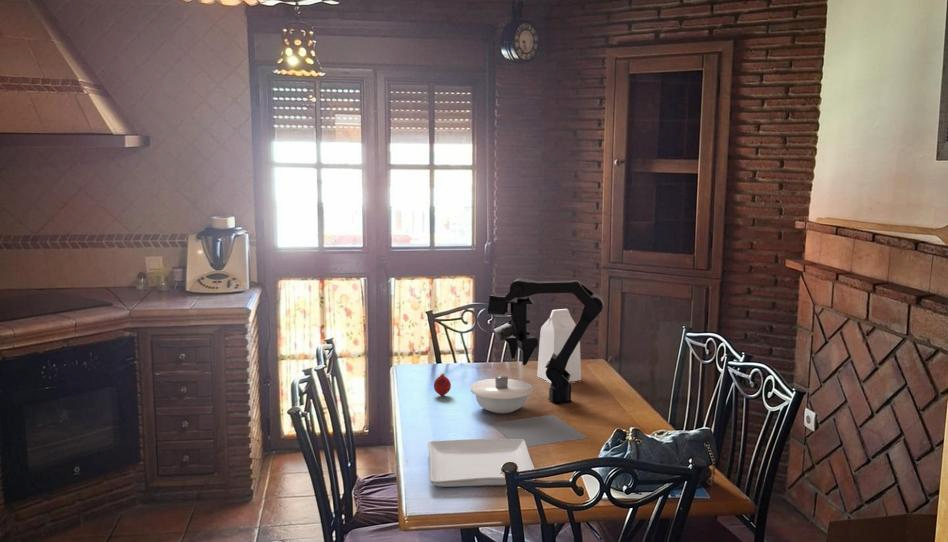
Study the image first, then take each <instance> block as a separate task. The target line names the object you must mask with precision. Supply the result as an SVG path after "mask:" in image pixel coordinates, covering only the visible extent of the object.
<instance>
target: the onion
mask: <svg viewBox="0 0 948 542" xmlns="http://www.w3.org/2000/svg"><path fill="white" fill-rule="evenodd" d="M451 387H452V384H451V381H450V379H449V378H448V377H447V376H445V374H444V372H442V373H440V375H439V376H438V377H437V378H436V379H435V380H434V383H433V389H434V391H435V392H436V393H437V395H439V396H440V397H444V396H445V395H447V394H448V393H449V391H450V390H451Z"/></svg>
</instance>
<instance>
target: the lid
mask: <svg viewBox="0 0 948 542" xmlns="http://www.w3.org/2000/svg"><path fill="white" fill-rule="evenodd" d="M470 392H471V394H474V395H475V396H476V395H477V396H480V397H484V398H490V399H516V398H521V397H525V396H527V397H528V396H529V395H530V394H532V393H533V386H532V384H530V383H528V382H526V381H523V380H520V379H513V378H508V376H507V375H503V374H498V375H495V378H487V379H481V380H478V381H476V382H473V383H472V384H471V385H470Z"/></svg>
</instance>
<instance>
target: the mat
mask: <svg viewBox="0 0 948 542" xmlns="http://www.w3.org/2000/svg"><path fill="white" fill-rule="evenodd" d="M489 424H490V425H491V426H492V427H493V428H494V429H495V430H497V431H498V432H500V433H501V435H503V436H504V437H505V438H506V439H523V440H524V441H525V443H526V446H527V448H531V447H537V446H538V447H539V446H542V445H551V444H557V443H563V442H571V441H576V440H584V439H588V437H587V436H586V435H584V434H583V433H581V432H580V431H578V430H577V429H575V428H574V427H572V426H571V425H570V424H568V423H567V422H565V421H563V420H562V419H560V418H558V417H557V416H556V415H554V414H550V415H549V414H547V415H542V416H534V417H526V418H519V419H513V420H504V421H497V422H496V421H495V422H489Z"/></svg>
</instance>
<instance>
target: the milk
mask: <svg viewBox="0 0 948 542" xmlns="http://www.w3.org/2000/svg"><path fill="white" fill-rule="evenodd" d="M576 324H577V323H576V322H575V321H574V319H573V317H572V315H571V313H570V310H569V309H568V308H561V309H560V308H559V309H552V310H551V313H550V315H549V318H547V320H546V321H545V322H544V323H543V324H542V325H541V326H540V333H539V346H538V361H537V372H536V373H537V374H536V377H537V376H538V377H537V378H539V377H540V378H542V379H544V380H546V381H547V382H546V381H545V382H546V383H548V382H549V383H551V381H550V380H549V379H548V378H547V376H546V370H547V368H545V367H546V365H547V362H548V361H550V359H551V357H552V354H553V353H554V354H555V355H557V354H558V353H559V352H560V351H561V349H562V348H563V346H564V344H565V343H566V341H567V339H568V337H569V336H570V334H571V332H572V331H573V329H574V327H575V325H576ZM581 365H582V363H581V340H580V341H579V342H578V344H577V346H576V348H575V349H574V351H573V353H572V354H571V356H570V358H569V360H568V363H567V365H566V368H565V370H566V371H567V372H568V373H569V374H570V375H571V377H570V380H569V382H570V381H577V380H581V381H582V372H581V370H582V366H581ZM540 378H539V379H540ZM542 379H541V380H542ZM544 380H543V381H544ZM549 383H548V384H549Z"/></svg>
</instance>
